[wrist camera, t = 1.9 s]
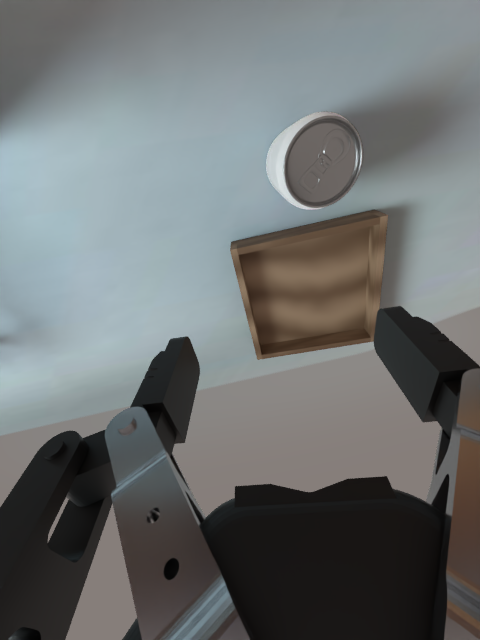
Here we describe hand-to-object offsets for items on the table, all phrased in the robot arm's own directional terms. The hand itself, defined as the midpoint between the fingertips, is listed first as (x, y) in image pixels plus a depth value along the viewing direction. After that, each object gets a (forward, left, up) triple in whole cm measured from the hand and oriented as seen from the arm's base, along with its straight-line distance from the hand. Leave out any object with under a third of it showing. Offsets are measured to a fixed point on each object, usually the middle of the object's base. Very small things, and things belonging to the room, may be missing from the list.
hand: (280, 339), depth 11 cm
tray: (+11, +5, -24) cm, 27 cm away
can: (-5, +5, -25) cm, 26 cm away
